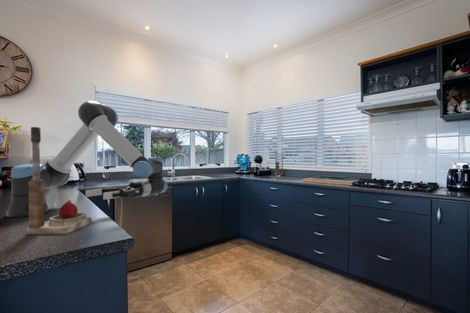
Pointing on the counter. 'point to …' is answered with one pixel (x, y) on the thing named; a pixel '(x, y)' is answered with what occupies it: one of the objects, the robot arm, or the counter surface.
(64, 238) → the counter surface
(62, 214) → the onion
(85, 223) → the press
